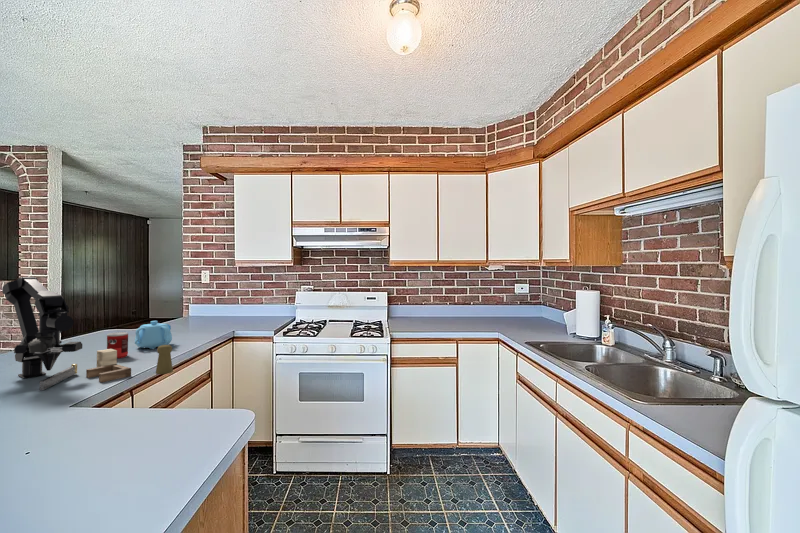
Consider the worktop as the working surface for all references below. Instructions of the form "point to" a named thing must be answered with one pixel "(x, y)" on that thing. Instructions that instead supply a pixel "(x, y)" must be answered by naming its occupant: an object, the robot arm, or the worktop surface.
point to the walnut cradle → (109, 372)
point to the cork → (164, 360)
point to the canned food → (118, 343)
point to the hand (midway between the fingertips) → (49, 370)
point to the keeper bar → (58, 377)
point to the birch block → (106, 357)
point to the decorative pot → (153, 335)
